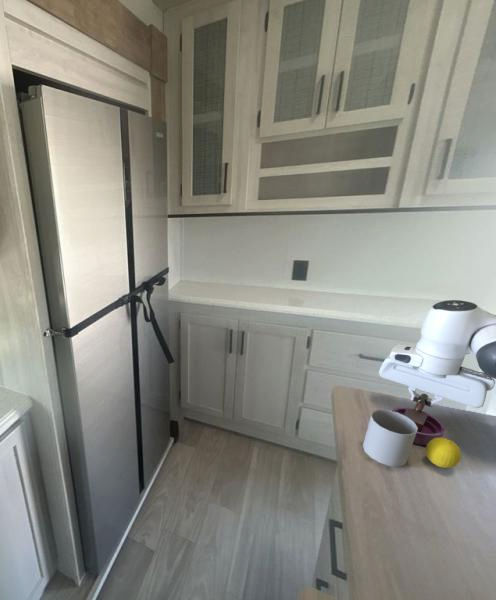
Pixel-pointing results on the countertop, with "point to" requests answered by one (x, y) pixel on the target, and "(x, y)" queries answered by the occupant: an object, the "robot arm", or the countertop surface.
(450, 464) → the lemon
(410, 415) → the brush
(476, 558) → the countertop surface
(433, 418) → the bowl
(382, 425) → the cup
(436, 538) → the countertop surface
